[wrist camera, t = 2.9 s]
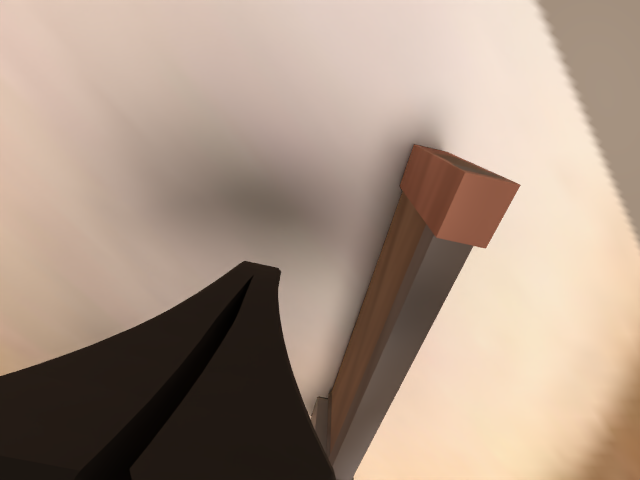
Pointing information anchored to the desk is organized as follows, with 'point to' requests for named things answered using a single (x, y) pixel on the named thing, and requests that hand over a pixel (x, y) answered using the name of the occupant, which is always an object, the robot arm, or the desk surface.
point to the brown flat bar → (409, 290)
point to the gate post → (321, 420)
